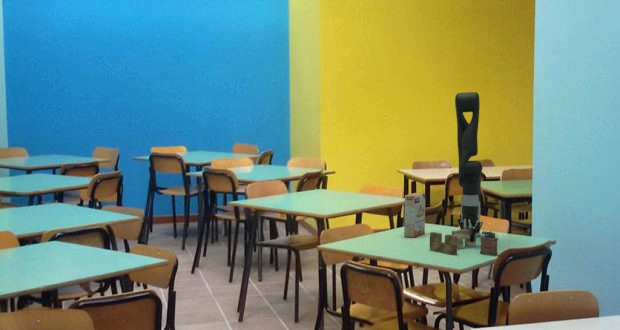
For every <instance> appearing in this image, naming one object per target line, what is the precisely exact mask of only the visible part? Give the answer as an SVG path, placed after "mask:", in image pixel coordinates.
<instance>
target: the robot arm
mask: <svg viewBox="0 0 620 330" xmlns="http://www.w3.org/2000/svg"><path fill="white" fill-rule="evenodd" d="M454 103H455V104H454V105H455V114H456V115H455V117H456V124H457V125H456V128H457V129H456V130H457V131H456V132H457V136H456V139H457V152H458V153H457V155H458V174H457V175H458V185H459V186H460V187H461V188H462V195H461V198H460V199H461V201H460V203H461V204H460V206H461V211H460V213H461V214H460V215H461V217H460V218H457V223H458V226H459V230H461V229H467V228H469V229H470V233H471V234H470V242H474V241H475V234H476V238H477V237H480V236H481V228H482V226H483V224H484V222H483V221H481V183H482V173H483V164H482V163H481V162H480V161H479V160H470V159H471V158H472V157H476V156H477V155H479V153H478V152H479V150H478V149H479V148H478V133H479V132H478V131H479V122H480V121H479V120H480V104H481V102H480V94H479V93H478V92H477V91H473V92H472V91H471V92H470V91H469V92H459V93H458V92H457V93H456V94H455V98H454ZM464 113H472V115H471V120H470V121H469V122H468V121H467V119H466V117H465V115H464Z"/></svg>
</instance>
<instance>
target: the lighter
mask: <svg viewBox="0 0 620 330" xmlns="http://www.w3.org/2000/svg"><path fill="white" fill-rule="evenodd" d="M481 234H482V235H480V236H479V238H480V251H479V254H481V255H486V256H493V257H494V256H495V257H496V256H499V255H498V239H499V237H496V232H492V231H485V230H482V231H481Z"/></svg>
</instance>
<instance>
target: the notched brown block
mask: <svg viewBox="0 0 620 330" xmlns="http://www.w3.org/2000/svg"><path fill="white" fill-rule="evenodd" d="M442 238H443V233H442V232H437V231H436V232H435V231H431V232H429V251H432V252H437V253H443V254H448V255H452V256H454V255H457V254H458V249H457V236H454V235H452V234H445V235H444V241H442V240H443V239H442Z"/></svg>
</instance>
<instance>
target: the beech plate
mask: <svg viewBox="0 0 620 330" xmlns="http://www.w3.org/2000/svg"><path fill="white" fill-rule="evenodd" d="M470 234H471V233H470V229H469V228H467V229H457V230H455V229H454V230H451V235H454V236H457V250H459V249H463V248H464V247H474V246H475V247H476V246H477V237H476V234H475V241H474V242H470Z"/></svg>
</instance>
